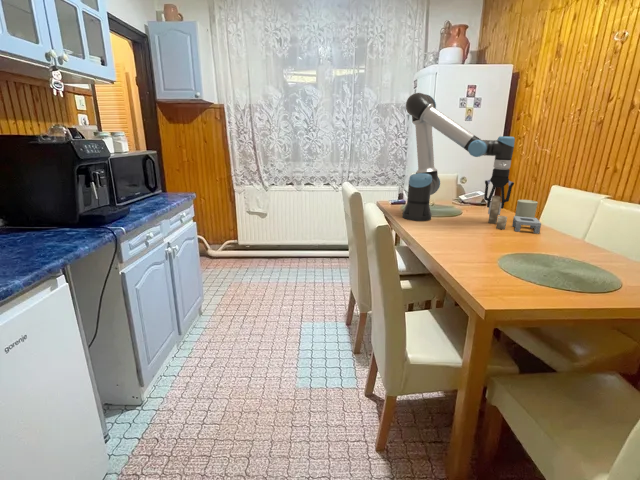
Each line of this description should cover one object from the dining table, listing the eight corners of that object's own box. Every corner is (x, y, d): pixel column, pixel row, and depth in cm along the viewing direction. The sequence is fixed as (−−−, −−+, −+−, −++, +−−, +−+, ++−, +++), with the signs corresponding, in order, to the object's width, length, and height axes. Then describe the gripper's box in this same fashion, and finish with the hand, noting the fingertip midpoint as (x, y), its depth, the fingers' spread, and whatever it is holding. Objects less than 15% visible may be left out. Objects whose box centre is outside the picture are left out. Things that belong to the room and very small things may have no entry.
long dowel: (488, 223, 180) (492, 196, 176) (487, 221, 184) (492, 195, 180) (496, 224, 179) (501, 197, 175) (496, 222, 183) (500, 196, 178)
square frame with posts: (515, 231, 166) (517, 221, 164) (512, 225, 177) (513, 216, 175) (539, 233, 162) (541, 223, 161) (534, 227, 173) (536, 218, 172)
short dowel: (496, 229, 170) (498, 217, 168) (495, 227, 173) (497, 215, 171) (505, 229, 168) (507, 217, 166) (504, 228, 172) (506, 216, 170)
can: (537, 225, 178) (542, 202, 175) (519, 224, 178) (523, 201, 175) (527, 220, 187) (531, 198, 183) (510, 220, 187) (514, 198, 184)
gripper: (483, 168, 173) (476, 214, 180) (521, 170, 167) (513, 217, 174) (482, 167, 180) (475, 211, 186) (519, 168, 174) (511, 214, 180)
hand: (493, 214), depth 180 cm, fingers closed on long dowel, 4 cm apart
